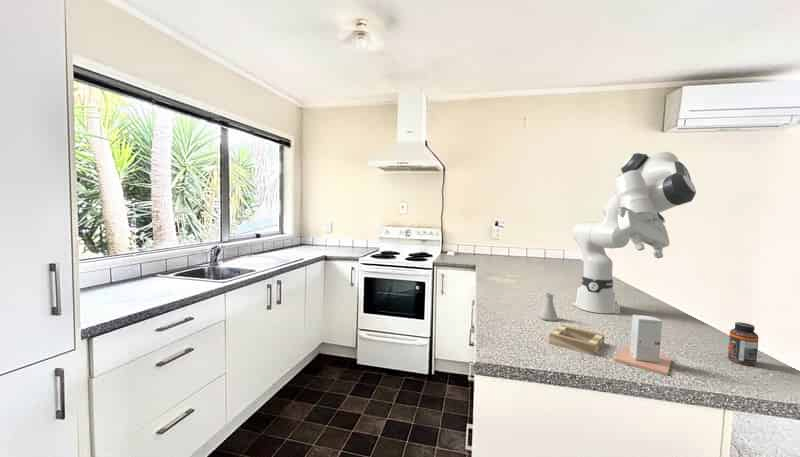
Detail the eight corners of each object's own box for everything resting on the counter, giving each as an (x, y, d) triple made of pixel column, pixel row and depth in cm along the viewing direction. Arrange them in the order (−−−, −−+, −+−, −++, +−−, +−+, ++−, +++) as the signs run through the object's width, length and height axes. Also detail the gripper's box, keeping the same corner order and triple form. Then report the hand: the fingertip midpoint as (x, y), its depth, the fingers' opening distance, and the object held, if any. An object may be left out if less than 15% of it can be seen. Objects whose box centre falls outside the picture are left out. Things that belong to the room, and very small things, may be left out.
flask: (554, 316, 140) (555, 292, 139) (561, 322, 132) (562, 296, 132) (536, 315, 140) (537, 291, 140) (541, 321, 133) (543, 296, 133)
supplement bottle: (723, 356, 104) (726, 319, 103) (748, 359, 101) (751, 322, 101) (734, 364, 98) (737, 325, 97) (761, 368, 96) (764, 328, 95)
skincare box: (635, 360, 97) (638, 318, 96) (628, 354, 101) (631, 314, 101) (660, 363, 96) (663, 320, 95) (652, 356, 100) (654, 316, 99)
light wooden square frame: (562, 333, 120) (562, 324, 120) (603, 343, 111) (604, 334, 111) (548, 343, 111) (549, 334, 110) (593, 355, 102) (594, 345, 102)
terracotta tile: (623, 348, 107) (623, 346, 107) (671, 360, 99) (672, 358, 99) (614, 361, 98) (614, 358, 98) (667, 375, 90) (667, 372, 90)
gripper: (628, 199, 103) (639, 240, 96) (667, 219, 110) (680, 258, 104) (608, 208, 108) (618, 248, 101) (647, 226, 115) (658, 264, 109)
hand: (650, 253), depth 103 cm, fingers open, 8 cm apart
